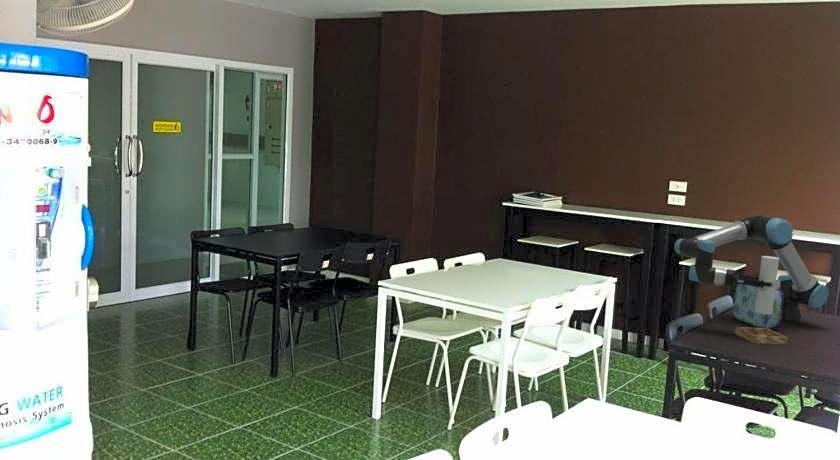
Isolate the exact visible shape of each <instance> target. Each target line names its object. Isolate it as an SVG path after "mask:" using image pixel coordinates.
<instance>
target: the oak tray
mask: <svg viewBox="0 0 840 460" xmlns="http://www.w3.org/2000/svg"><path fill="white" fill-rule="evenodd" d="M734 334H735V336H738V337H740V338H742V339H743V340H746V341H747V340H748V342H749V343H751V344H760V343H761V344H762V345H766V344H767V345H779V346H780V345H782V346H783V345H784V346H786V345H788V344H787V343H788V337H787V336H785V335H782V334H781V333H779V332H777V331H774V330H773V329H769V328H758V327H749V326H747V327H746V326H744V327H743V326H735V328H734Z"/></svg>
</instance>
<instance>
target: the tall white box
mask: <svg viewBox="0 0 840 460" xmlns="http://www.w3.org/2000/svg"><path fill="white" fill-rule="evenodd" d="M779 263H780V260H779V258H778V256H769V255H761V260H760V268H759V275H758V277H759V280H760V281H771V282H776V280H777V279H778V270H779V265H780V264H779ZM774 295H775V288H768V287H764V286H763V288H761V287H758V290H757V298H756V306H755V312H757V313H761V314H772V310H773V302H774Z"/></svg>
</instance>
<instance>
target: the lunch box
mask: <svg viewBox="0 0 840 460" xmlns="http://www.w3.org/2000/svg"><path fill="white" fill-rule="evenodd" d="M757 290H758V287H757V286H751V285H744V284H738V283H737V285H736V287H735V291H734V296H733V303H732V315H733V317H734V319H736V320H738V321H740V322H743V323H746V324H747V325H750V326H753V327H755V328H768V329H770V330H777V329H778V327H779V325H780V324H781V323H782V322H781V316H782V308H783V301H784V294H783V292H782V291H781V290H779V289H775V295H774V302H773V310H772V314H761V313H757V312H755V306H756V298H757Z"/></svg>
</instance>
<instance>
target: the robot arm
mask: <svg viewBox="0 0 840 460" xmlns="http://www.w3.org/2000/svg"><path fill="white" fill-rule="evenodd" d="M793 232H794V230H793V225H791V223H790V222H789V221H788V220H786V219H783V218H780V217H774V216H767V215H761V214H759V215H758V214H756V215H751V216H747V217H744V218H741V219H738V220H735V221H734V222H733V223H732V224H730V225H726V226H724V227H720V228H718V229H714V230H712V231H711V230H710V231H708V232H705V233H702V234H700V235H697V236H694V237H690V238H688V239H686V238H678V239H677V240H676V241H675V243H674V251H675V252H676V254H678V255H680V256H685V257H689V258H693V259H695V263H694V264H690V265H689V272H688V278H689V280H690V281H691V282H692V281H693V282H698V283H704V284H706V283H707V284H711V285H712V284H713V285H715V286H720V285H721V286H723V285H724V286H727V287H733V286H734V283H737V284H744V285H751V286H757V287H761V288H763V286H764V287H768V288H775V289H779V290H781V291H782V292H783V294H784V301H783V308H782V316H781V322H780V323H788V324H800V323H801V322H802V315H801V309H800V304H801V305H804V306H807V307H811V308H815V309H817V308H821V307H823V305H824V304H826V303H827V300H828V298H829V295H830V293H829V289H828V287H827V285H825V284H821V283H819V280H818V278H817V277H816V276H815V275H814V274H810V273H811V272H809V270H808V268H807V266H806V265H805V263H804V261H803V260H802V258H801V256H800V255H799V253H798V252H797V250H796V247H795V246H794V244H793V243H792V240H793V235H794V234H793ZM747 239H754V240H755V239H756V240H759V241H764V242H765V245H766V246H767V248H768V249H769V250H771V251H773V252H774V253H775V255H776V257H777V258H779V262H780V263H781V265H782V267H783V268H784V270H785V272H786V274H780V275H778V276H777V279H776V282H771V281H760V280H759V276H755V275H746V274H741V273H740V274H737V275H736V270H734V269H729V268H728V269H725V268H723V267H716V266H715V267H714V266H713V262H714V256H715V248H717V247H718V246H722V245H724V244H728V243H731V242H734V241H737V240H741V241H743V240H747Z"/></svg>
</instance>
